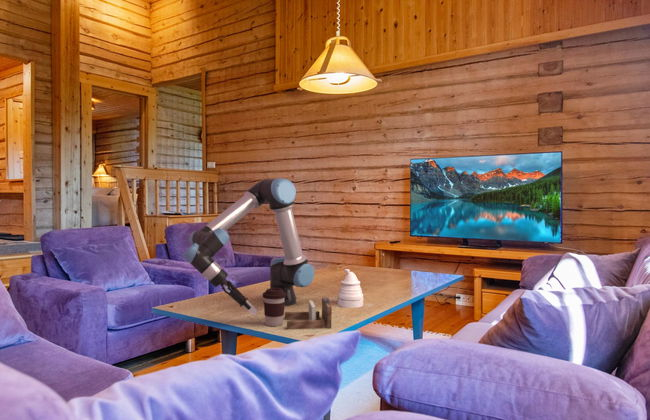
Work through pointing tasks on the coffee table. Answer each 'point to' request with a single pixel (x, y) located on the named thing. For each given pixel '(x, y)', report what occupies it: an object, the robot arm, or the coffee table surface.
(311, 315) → the catch plate
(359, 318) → the coffee table surface
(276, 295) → the coffee cup
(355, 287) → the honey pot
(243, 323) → the coffee table surface
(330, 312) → the dock
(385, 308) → the coffee table surface
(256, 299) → the coffee table surface
